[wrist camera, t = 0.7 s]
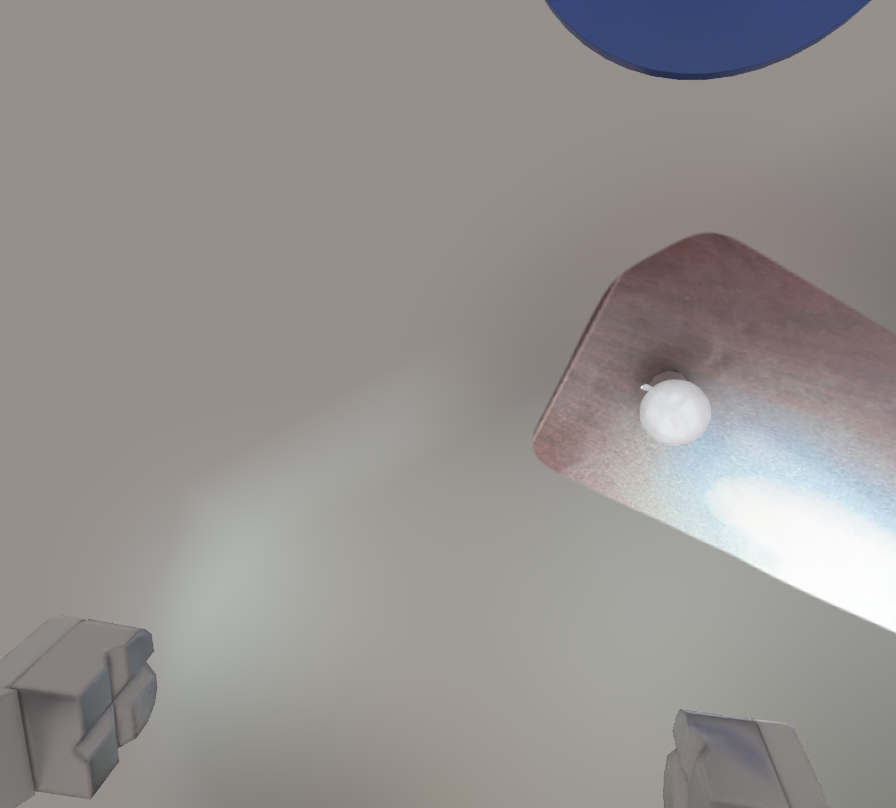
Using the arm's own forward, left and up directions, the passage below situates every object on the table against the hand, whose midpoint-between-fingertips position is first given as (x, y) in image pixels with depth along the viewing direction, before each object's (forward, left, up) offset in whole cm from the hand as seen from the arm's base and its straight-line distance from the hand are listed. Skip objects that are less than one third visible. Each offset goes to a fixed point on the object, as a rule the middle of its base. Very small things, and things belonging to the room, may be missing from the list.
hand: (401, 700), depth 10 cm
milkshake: (+2, +7, -46) cm, 47 cm away
